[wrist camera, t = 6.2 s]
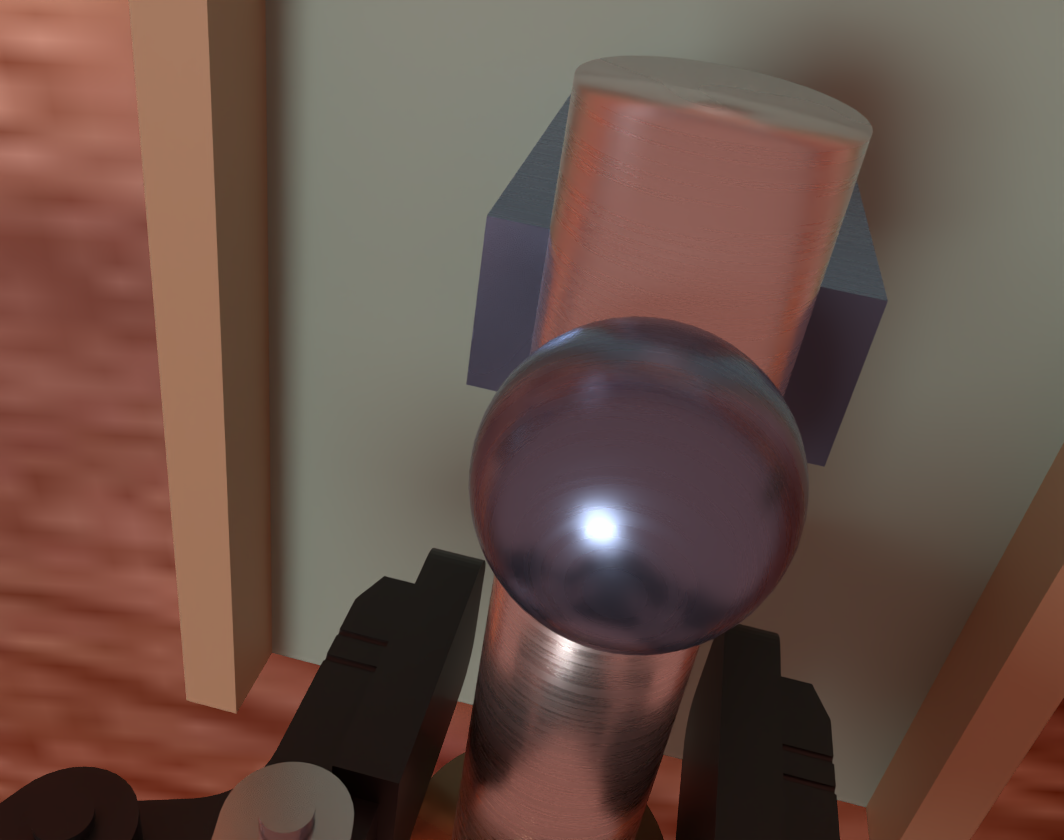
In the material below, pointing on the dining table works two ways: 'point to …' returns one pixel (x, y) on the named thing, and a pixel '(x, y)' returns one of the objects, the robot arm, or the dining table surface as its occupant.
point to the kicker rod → (646, 419)
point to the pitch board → (457, 409)
